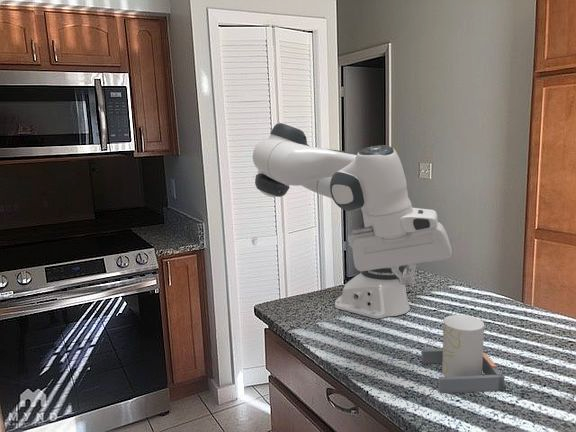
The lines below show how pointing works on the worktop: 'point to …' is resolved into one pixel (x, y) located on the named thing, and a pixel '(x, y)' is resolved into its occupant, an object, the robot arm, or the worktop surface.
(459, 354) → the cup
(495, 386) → the bracket
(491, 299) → the worktop surface
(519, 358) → the worktop surface
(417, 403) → the worktop surface
